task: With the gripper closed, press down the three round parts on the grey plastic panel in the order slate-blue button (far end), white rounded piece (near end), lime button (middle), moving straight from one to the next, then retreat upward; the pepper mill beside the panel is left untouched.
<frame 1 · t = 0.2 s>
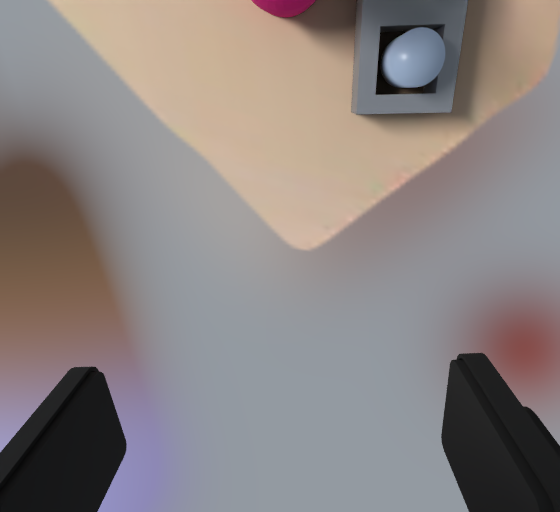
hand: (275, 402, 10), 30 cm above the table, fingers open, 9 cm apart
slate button: (410, 60, 30), point 4 cm above the table, slide at 0.0 cm
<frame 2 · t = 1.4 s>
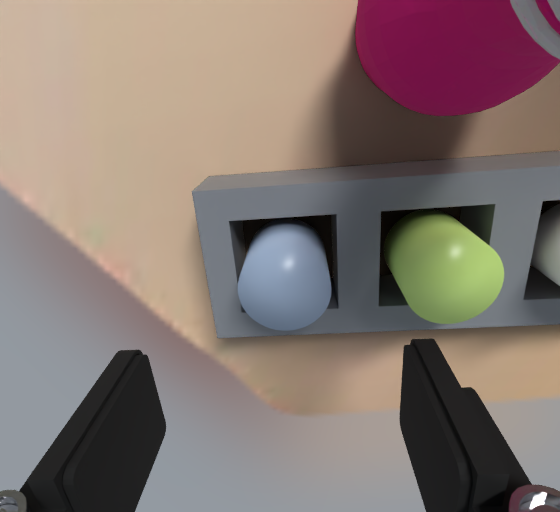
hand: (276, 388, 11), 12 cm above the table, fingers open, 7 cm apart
panel: (412, 233, 21), on the table
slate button: (285, 271, 18), point 4 cm above the table, slide at 0.0 cm
pepper mill: (422, 27, 17), on the table
lime button: (436, 263, 17), point 4 cm above the table, slide at 0.0 cm
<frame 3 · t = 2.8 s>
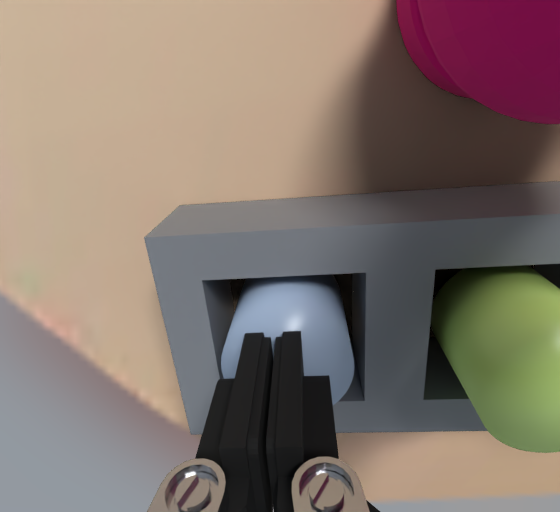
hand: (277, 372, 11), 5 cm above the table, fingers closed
panel: (465, 285, 15), on the table
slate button: (289, 330, 13), point 3 cm above the table, slide at 1.3 cm, touching gripper
lime button: (519, 347, 11), point 4 cm above the table, slide at 0.0 cm
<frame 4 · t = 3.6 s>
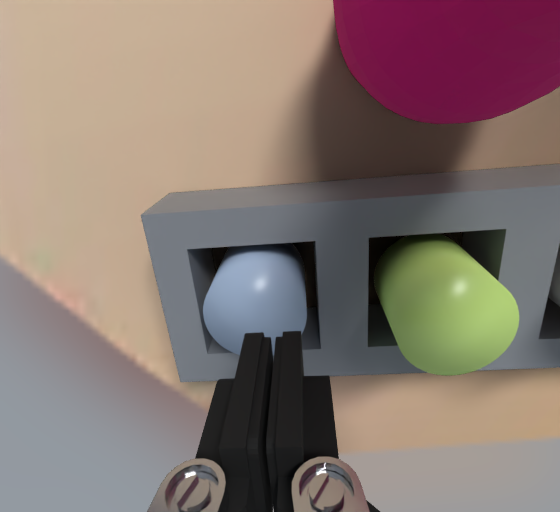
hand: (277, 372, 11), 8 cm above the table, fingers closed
panel: (407, 257, 18), on the table
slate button: (259, 290, 16), point 3 cm above the table, slide at 1.4 cm
pepper mill: (417, 17, 14), on the table
lime button: (436, 298, 14), point 4 cm above the table, slide at 0.0 cm
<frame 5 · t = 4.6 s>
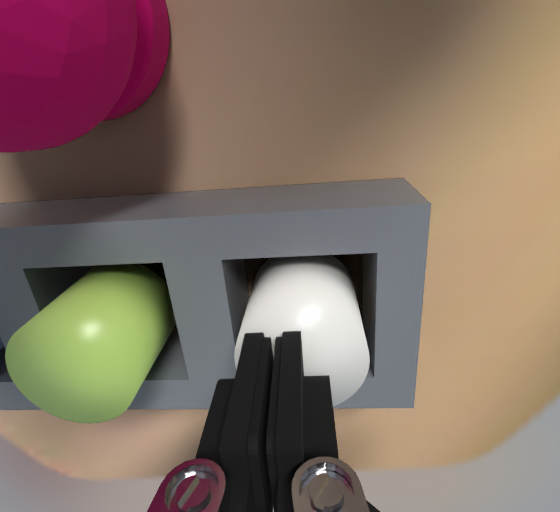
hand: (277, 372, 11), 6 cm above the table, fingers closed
panel: (148, 282, 17), on the table
white rounded piece: (302, 323, 13), point 4 cm above the table, slide at 0.5 cm, touching gripper
pepper mill: (85, 25, 13), on the table
lime button: (103, 335, 13), point 4 cm above the table, slide at 0.0 cm
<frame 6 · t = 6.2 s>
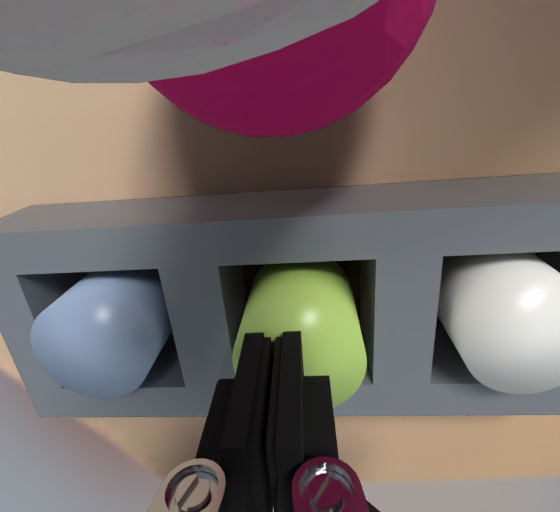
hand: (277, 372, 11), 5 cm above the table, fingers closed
panel: (301, 281, 16), on the table
white rounded piece: (501, 307, 13), point 3 cm above the table, slide at 1.5 cm
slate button: (117, 319, 14), point 3 cm above the table, slide at 1.4 cm
pepper mill: (282, 6, 12), on the table
lime button: (300, 325, 13), point 3 cm above the table, slide at 0.7 cm, touching gripper
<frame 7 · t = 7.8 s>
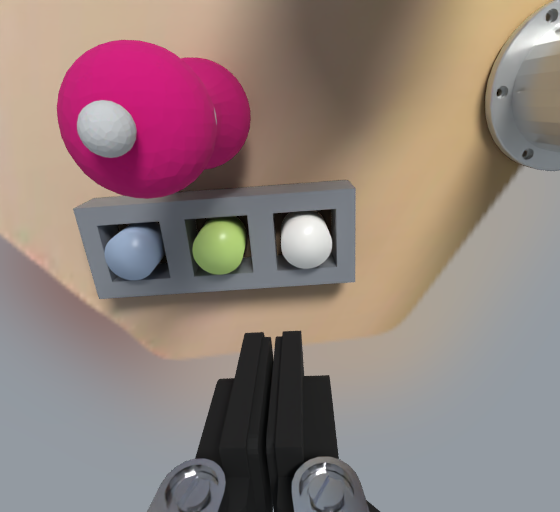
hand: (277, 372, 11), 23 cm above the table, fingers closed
panel: (225, 233, 34), on the table
white rounded piece: (304, 237, 31), point 3 cm above the table, slide at 1.5 cm
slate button: (138, 248, 31), point 3 cm above the table, slide at 1.4 cm
pepper mill: (209, 114, 30), on the table
lime button: (221, 242, 31), point 3 cm above the table, slide at 1.4 cm
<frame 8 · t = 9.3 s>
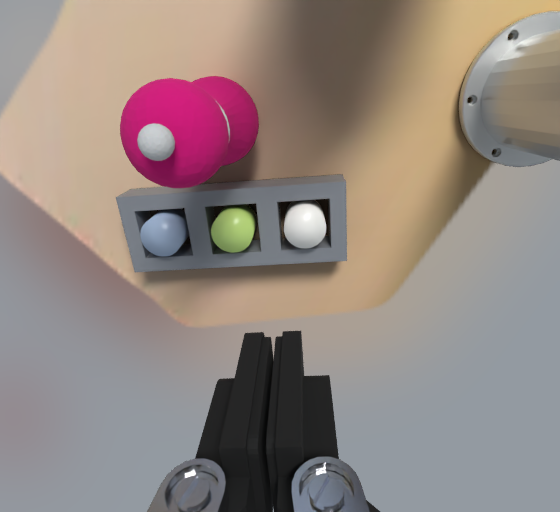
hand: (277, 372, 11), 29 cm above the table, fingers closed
panel: (238, 218, 40), on the table
white rounded piece: (304, 222, 37), point 3 cm above the table, slide at 1.5 cm
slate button: (167, 230, 38), point 3 cm above the table, slide at 1.4 cm
pepper mill: (225, 119, 36), on the table
lime button: (235, 226, 38), point 3 cm above the table, slide at 1.4 cm
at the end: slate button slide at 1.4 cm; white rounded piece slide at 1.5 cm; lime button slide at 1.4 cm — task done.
